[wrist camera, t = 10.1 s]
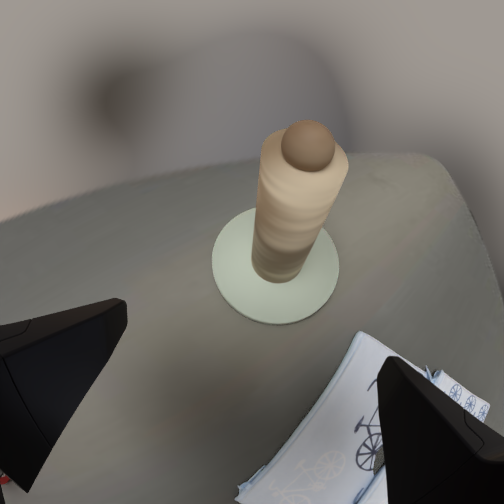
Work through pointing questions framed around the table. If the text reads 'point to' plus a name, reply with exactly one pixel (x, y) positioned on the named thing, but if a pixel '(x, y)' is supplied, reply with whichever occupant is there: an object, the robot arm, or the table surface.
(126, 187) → the table surface
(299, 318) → the disc
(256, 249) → the pepper mill
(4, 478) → the canned food
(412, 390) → the robot arm
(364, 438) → the open notebook
